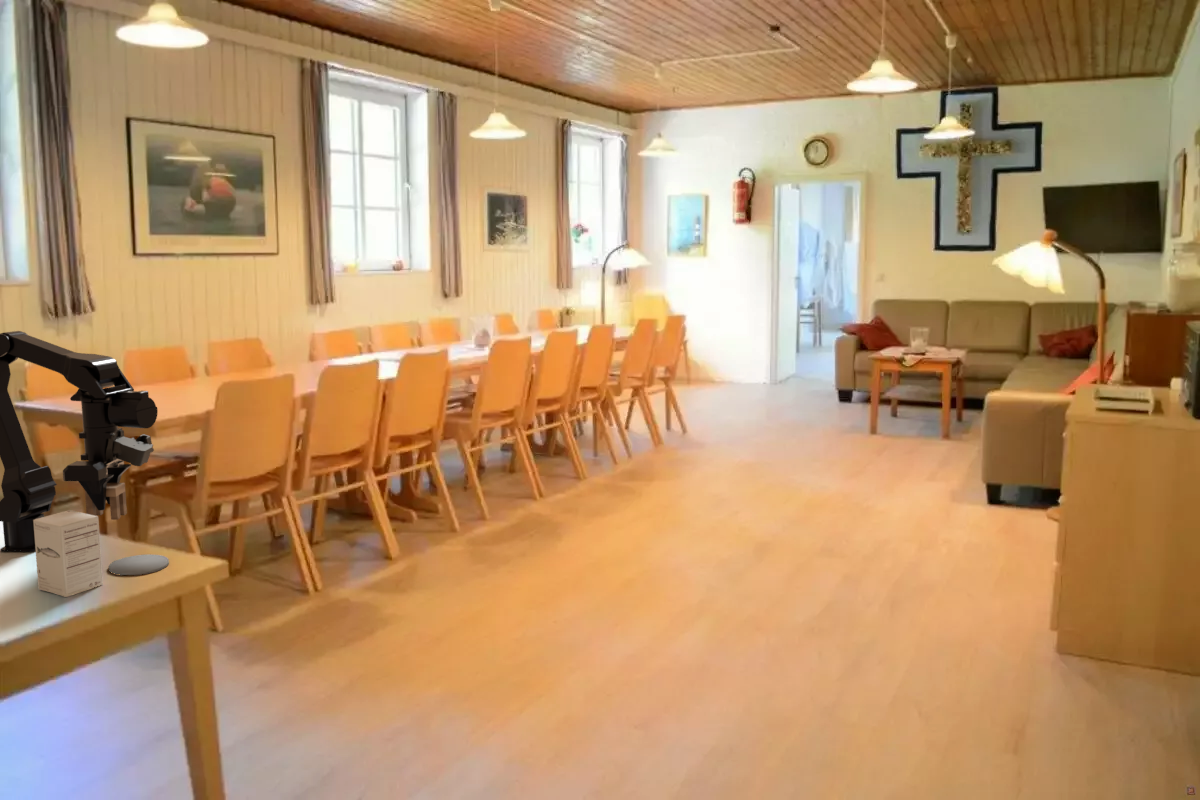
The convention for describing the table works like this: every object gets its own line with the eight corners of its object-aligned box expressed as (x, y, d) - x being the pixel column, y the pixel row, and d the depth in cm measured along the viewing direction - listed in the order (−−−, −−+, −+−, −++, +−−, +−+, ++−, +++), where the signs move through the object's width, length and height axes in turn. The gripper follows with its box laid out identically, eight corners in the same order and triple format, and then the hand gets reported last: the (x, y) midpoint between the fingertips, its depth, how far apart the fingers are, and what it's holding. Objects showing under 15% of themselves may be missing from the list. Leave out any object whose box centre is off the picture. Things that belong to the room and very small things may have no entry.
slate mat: (98, 575, 178) (98, 572, 178) (123, 557, 188) (122, 554, 188) (155, 575, 179) (155, 572, 179) (177, 557, 189) (177, 554, 188)
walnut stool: (86, 519, 186) (84, 488, 185) (96, 513, 190) (94, 482, 189) (117, 519, 186) (115, 488, 185) (126, 513, 190) (124, 482, 189)
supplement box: (37, 590, 171) (31, 519, 169) (77, 577, 177) (71, 508, 175) (64, 598, 167) (59, 525, 165) (104, 585, 174) (99, 514, 172)
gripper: (122, 435, 176) (128, 521, 179) (164, 416, 194) (169, 494, 197) (58, 435, 175) (65, 521, 178) (106, 415, 194) (111, 494, 197)
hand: (106, 507), depth 187 cm, fingers closed on walnut stool, 4 cm apart
